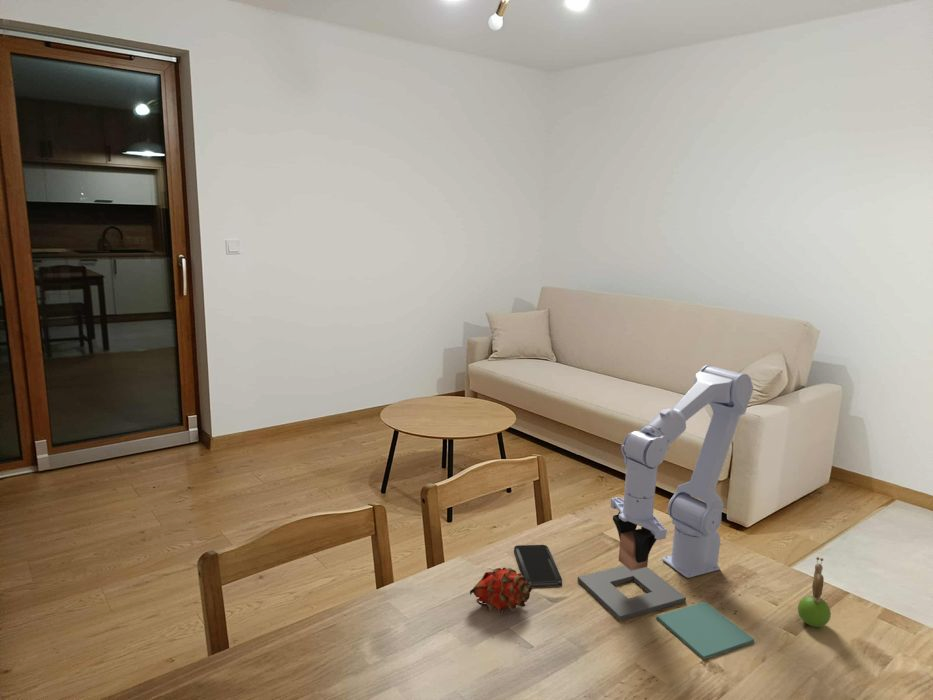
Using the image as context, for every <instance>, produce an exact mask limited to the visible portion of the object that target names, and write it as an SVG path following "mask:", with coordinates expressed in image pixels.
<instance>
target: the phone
mask: <svg viewBox="0 0 933 700" xmlns="http://www.w3.org/2000/svg"><path fill="white" fill-rule="evenodd" d="M513 552H514V555H515V558H516V561H517V564H518V568H519V570H520V574H521V575H523V576H524V577H525V579H526V581H528V582H529V583H530V586H531V587H532V588H539V587H540V588H541V587H542V588H545V587H560V586H562V585H563V578H562V576H561V574H560V571H559V569H558V566H557V564H556V562H555V560H554V558H553V555H552V552H551V550H550V548H549V546H547V545H546V544H524V545H523V544H521V545H520V544H519V545H515V546H514V548H513Z"/></svg>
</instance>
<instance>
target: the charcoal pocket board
mask: <svg viewBox="0 0 933 700" xmlns="http://www.w3.org/2000/svg"><path fill="white" fill-rule="evenodd" d="M632 581H633V582H634V583H635V584H637V585H638V586H639V587H640V588H642V589H643V591H645V592H646V593H643V594H640V595H636V596H632V597H627V596H626V595H625V594H624V593H622V591H620V589H618V588H617V587H616V586H615V585H619V584H620V585H621V584H623V583H624V584H625V583H627V582H632ZM577 582H578V583H579V584H580V585H581V586H582V587H583V588H584V589H585V590H586V591H587V592H588V593H590V595H592V596H593V597H594V598H595V599H596V600H597V601H598V602H599V603H600V604H601V605H602V606H603V607H604V608H605V609H606V610H608V611H609V613H611V614H612V615H613V617H615V618H616V619H617V620H618V621H619V622H620V621H621V622H622V621H625V620H629V619H631V618H634V617H638V616H642V615H645V614H646V615H647V614H648V613H652V612H656V611H658V610H662V609H666V608H670V607H672V606H676V605H680V604H683V603H686V602H687V601H686V600H687V597H686V596H685V595H684V594H683V593H681V592H680V591H679V590H677V589H676V588H675V587H673V586H672V585H671V584H670V583H669V582H667V581H666V580H665V579H663V578H662V577H661V576H659V575H658V574H657V573H655V572H654V571H653V570H651V568H649V567H648V566H647V567H644V568H640V569H636V570H633V571H631V570H629V569H628V568H627V567H626V566H625V565H623V564H622V565H619V566H616V567H612V568H608V569H603V570H599V571H596V572H592V573H588V574H584V575H580V576H577Z"/></svg>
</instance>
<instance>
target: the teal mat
mask: <svg viewBox="0 0 933 700" xmlns="http://www.w3.org/2000/svg"><path fill="white" fill-rule="evenodd" d="M656 620H657V621H659V622H660V623H661V624H662V625H663V626H664V627H665V628H666V629H668V630H669V632H671V633H672V634H673V635H675V636H676V637H677V638H678V639H679V640H680V641H681V642H683V643H684V644H685V645H686V646H687V647H688V648H690V649H691V650H692V651H693V652H694V653H695V654H696V655H697V656H699V657H700V658H701V659H702V660H706V659H709V658H712V657H715V656H718V655H720V654H723V653H727V652H729V651H733V650H734V649H735V650H736V649H739V648H741V647H744V646H747V645H750V644H752V643H755V638H753V636H751V635H750V634H748V633H747V632H746V631H744V630H743V629H742V628H740V627H739V626H738V625H737V624H736V623H734V622H733V621H731V620H730V619H729V618H728V617H726V616H725V615H723V613H721V612H720V611H718V610H717V609H716V608H714V607H713V606H712V605H710V604H709V603H708V602H706V601H702V602H698V603H695V604H691V605H688V606H684V607H682V608H678V609H675V610H671V611H669V612H665V613H662V614H661V613H660V614H657V615H656Z"/></svg>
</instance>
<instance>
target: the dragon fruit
mask: <svg viewBox="0 0 933 700" xmlns="http://www.w3.org/2000/svg"><path fill="white" fill-rule="evenodd" d="M532 590H533V587H531V586H530V583H529V582H528V581H526V579H525V577H524V576H523V575H522V574H521V572H520V573H517V570H515V569H513V568H511V567H508V568H507V567H503V568H501V567H497V568H494V569H493V570H492V571H486V572H485V573H484V574H483V576H482V578H480V580H479V581H478V582H477V583H476V584H475V586H473V588H471V590H470V591H469V594H470V595H471V596H472V593H473V595H474V596H475V597H476V598H477V599H476V600H475V602H476V603H477V604H478V605H480V606H481V607H484V608H487V611H491V610H493V609H494V608H496V609H497V613H498V614H499V615H503V614H504V613H507V612H508V610H509V611H516V610H517V606H518V607H521V608H525V607H526V605H527V604H525V603H526V602H527V601H528V600H530V596H531V592H532ZM470 595H469V596H470Z"/></svg>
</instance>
